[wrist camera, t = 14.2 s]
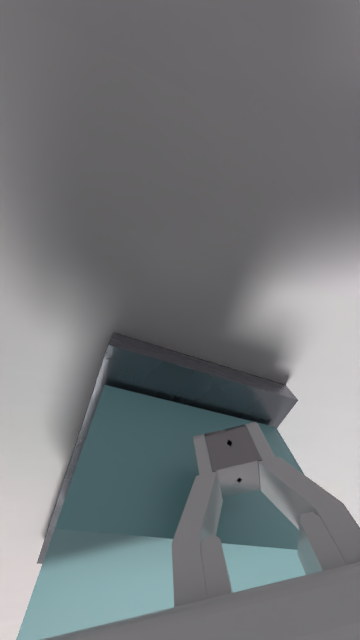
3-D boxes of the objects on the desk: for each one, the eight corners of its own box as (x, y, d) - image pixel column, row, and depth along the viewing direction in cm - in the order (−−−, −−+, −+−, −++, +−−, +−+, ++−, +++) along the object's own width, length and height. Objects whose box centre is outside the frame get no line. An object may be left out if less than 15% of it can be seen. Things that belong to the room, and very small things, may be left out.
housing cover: (204, 522, 19) (225, 654, 13) (62, 506, 16) (7, 665, 10) (275, 427, 15) (352, 554, 9) (104, 384, 12) (54, 528, 6)
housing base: (169, 550, 24) (172, 647, 18) (44, 541, 21) (4, 653, 15) (285, 385, 16) (353, 467, 10) (113, 332, 13) (80, 408, 7)
